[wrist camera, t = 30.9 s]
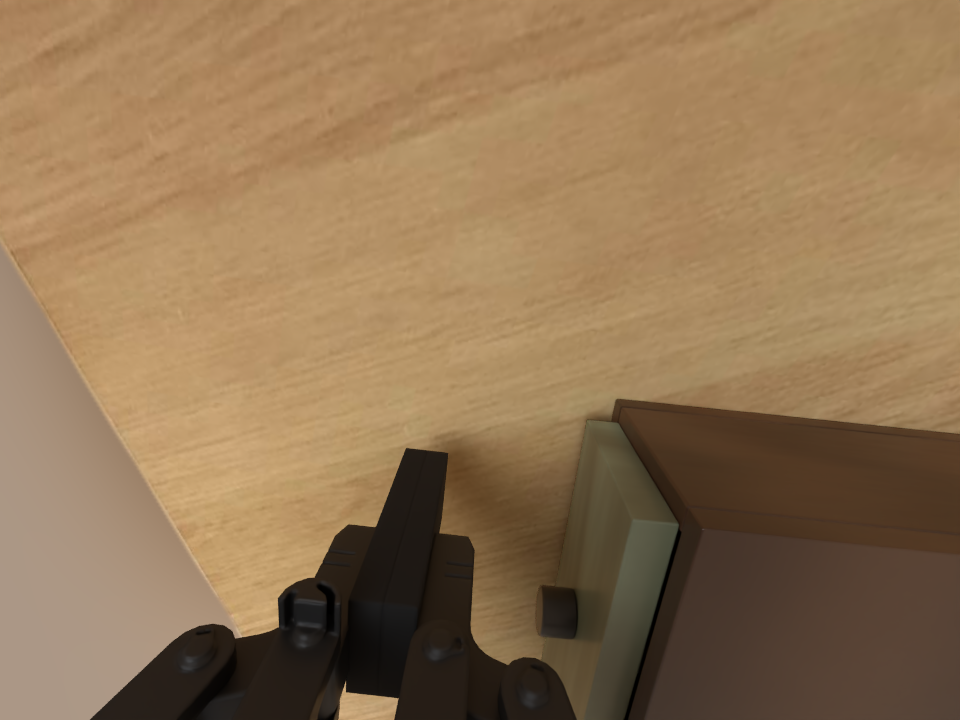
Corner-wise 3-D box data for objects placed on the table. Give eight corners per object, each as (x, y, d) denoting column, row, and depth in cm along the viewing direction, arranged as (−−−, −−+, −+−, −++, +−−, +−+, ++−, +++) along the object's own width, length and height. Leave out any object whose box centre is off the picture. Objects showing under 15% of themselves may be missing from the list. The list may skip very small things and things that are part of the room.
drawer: (514, 661, 20) (521, 826, 15) (554, 415, 17) (584, 514, 11) (854, 696, 20) (988, 873, 15) (973, 458, 17) (1211, 579, 11)
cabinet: (561, 658, 21) (595, 882, 14) (615, 398, 17) (702, 528, 10) (883, 691, 21) (1080, 932, 14) (1015, 439, 17) (1388, 598, 10)
